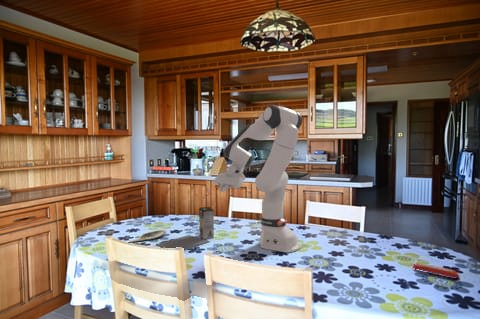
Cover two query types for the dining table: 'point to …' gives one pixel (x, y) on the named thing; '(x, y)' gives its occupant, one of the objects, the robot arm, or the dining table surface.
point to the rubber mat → (183, 242)
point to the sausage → (436, 269)
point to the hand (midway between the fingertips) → (221, 191)
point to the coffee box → (206, 222)
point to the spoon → (150, 235)
